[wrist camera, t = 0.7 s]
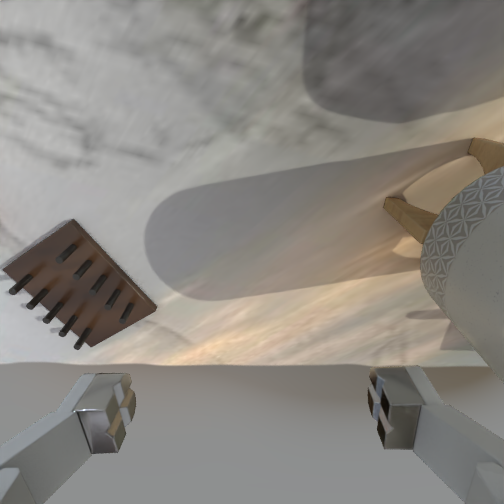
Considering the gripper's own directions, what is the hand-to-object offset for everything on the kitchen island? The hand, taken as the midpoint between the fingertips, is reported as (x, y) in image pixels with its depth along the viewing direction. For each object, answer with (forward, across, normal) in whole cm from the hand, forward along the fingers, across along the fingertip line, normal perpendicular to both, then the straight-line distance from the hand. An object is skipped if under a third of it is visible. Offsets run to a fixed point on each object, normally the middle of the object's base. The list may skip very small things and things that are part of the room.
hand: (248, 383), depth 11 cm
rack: (+36, +28, +15) cm, 48 cm away
